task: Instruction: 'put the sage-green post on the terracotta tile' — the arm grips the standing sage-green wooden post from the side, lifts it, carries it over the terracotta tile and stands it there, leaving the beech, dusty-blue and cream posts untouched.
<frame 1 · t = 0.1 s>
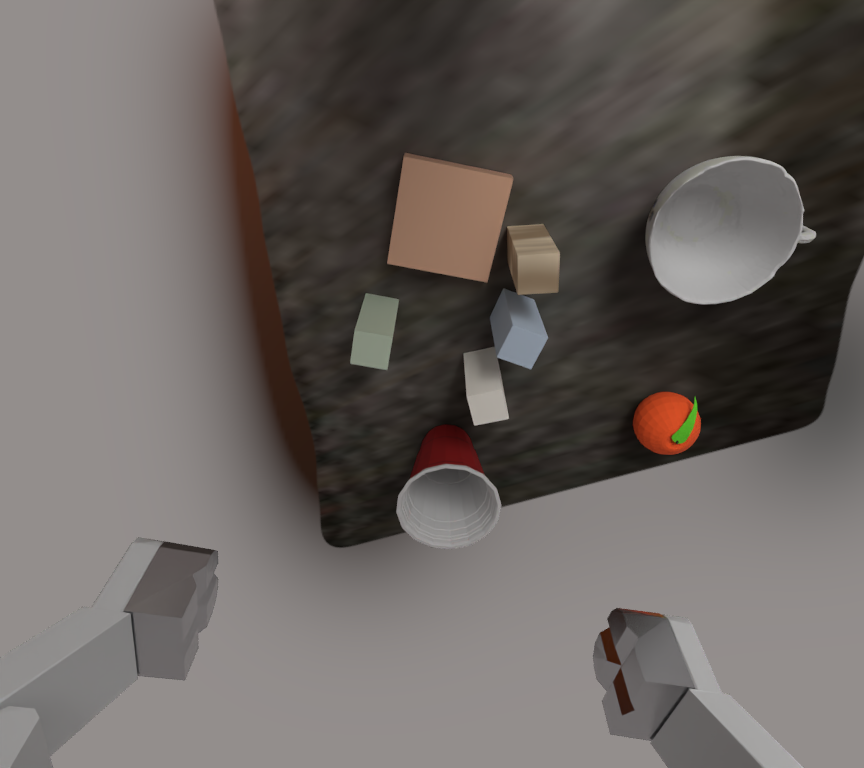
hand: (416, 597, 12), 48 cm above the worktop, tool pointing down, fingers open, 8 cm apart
plastic cup: (447, 441, 69), on the worktop
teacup: (702, 213, 55), on the worktop
sage green post: (380, 311, 60), on the worktop
dusty blue post: (511, 308, 60), on the worktop
beech post: (525, 242, 57), on the worktop
cream post: (482, 363, 63), on the worktop
terracotta tile: (447, 217, 55), on the worktop
clementine: (658, 401, 66), on the worktop
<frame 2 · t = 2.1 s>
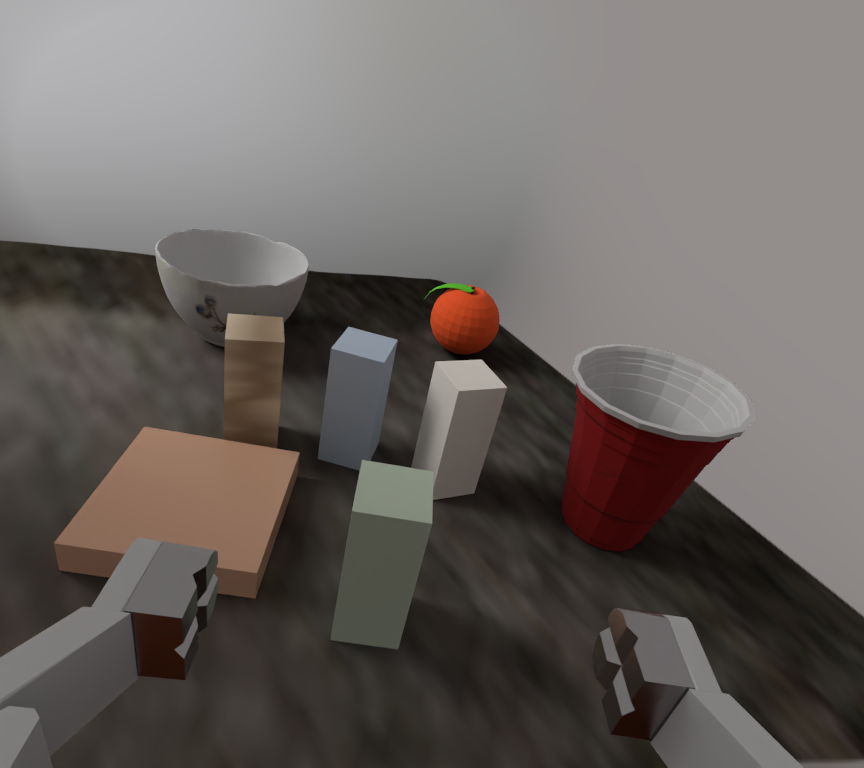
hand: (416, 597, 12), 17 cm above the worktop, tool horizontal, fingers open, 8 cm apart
plastic cup: (595, 522, 41), on the worktop
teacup: (236, 330, 54), on the worktop
sage green post: (368, 615, 31), on the worktop
dusty blue post: (348, 451, 42), on the worktop
beech post: (250, 439, 41), on the worktop
cream post: (442, 480, 41), on the worktop
terracotta tile: (194, 516, 34), on the worktop
clementine: (452, 350, 60), on the worktop
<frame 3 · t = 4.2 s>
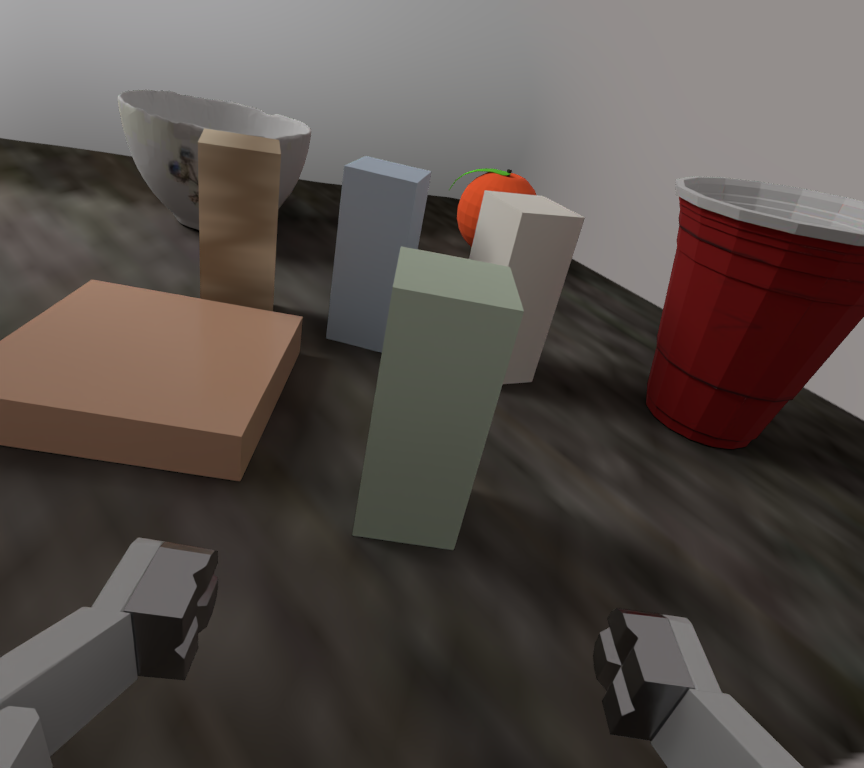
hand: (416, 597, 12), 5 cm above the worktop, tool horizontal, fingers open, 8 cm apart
plastic cup: (691, 419, 31), on the worktop
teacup: (222, 221, 45), on the worktop
sage green post: (406, 507, 21), on the worktop
dusty blue post: (366, 333, 32), on the worktop
beech post: (238, 315, 31), on the worktop
cream post: (488, 367, 32), on the worktop
terracotta tile: (156, 386, 24), on the worktop
clementine: (482, 254, 50), on the worktop
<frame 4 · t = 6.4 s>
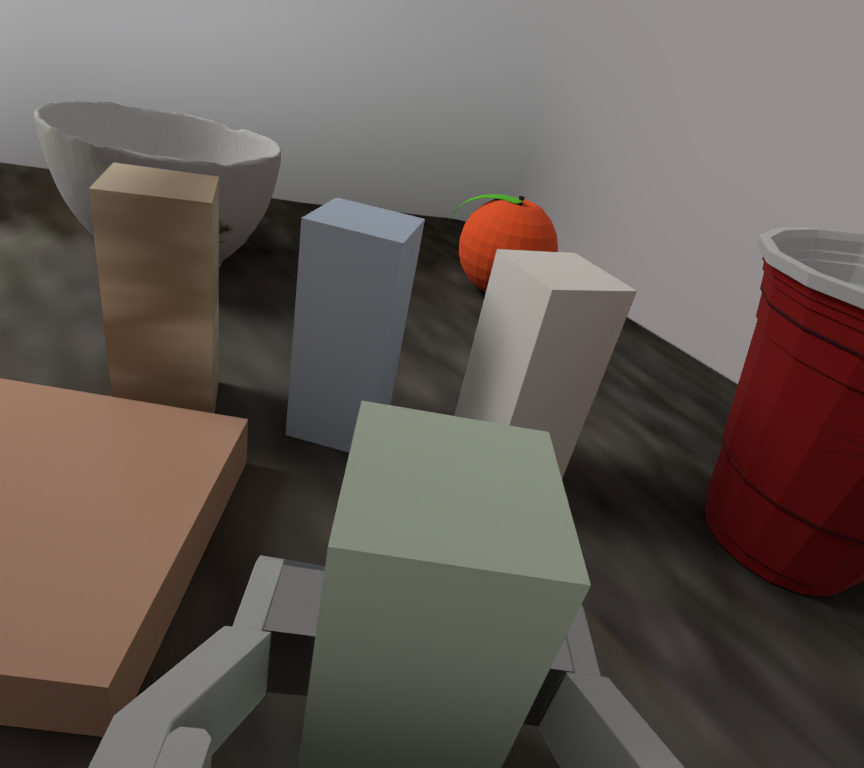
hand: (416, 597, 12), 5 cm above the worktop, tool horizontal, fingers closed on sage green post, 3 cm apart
plastic cup: (765, 542, 24), on the worktop
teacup: (177, 257, 37), on the worktop
dusty blue post: (340, 423, 25), on the worktop
beech post: (171, 402, 24), on the worktop
cream post: (499, 471, 24), on the worktop
terracotta tile: (25, 541, 17), on the worktop
clementine: (488, 294, 42), on the worktop
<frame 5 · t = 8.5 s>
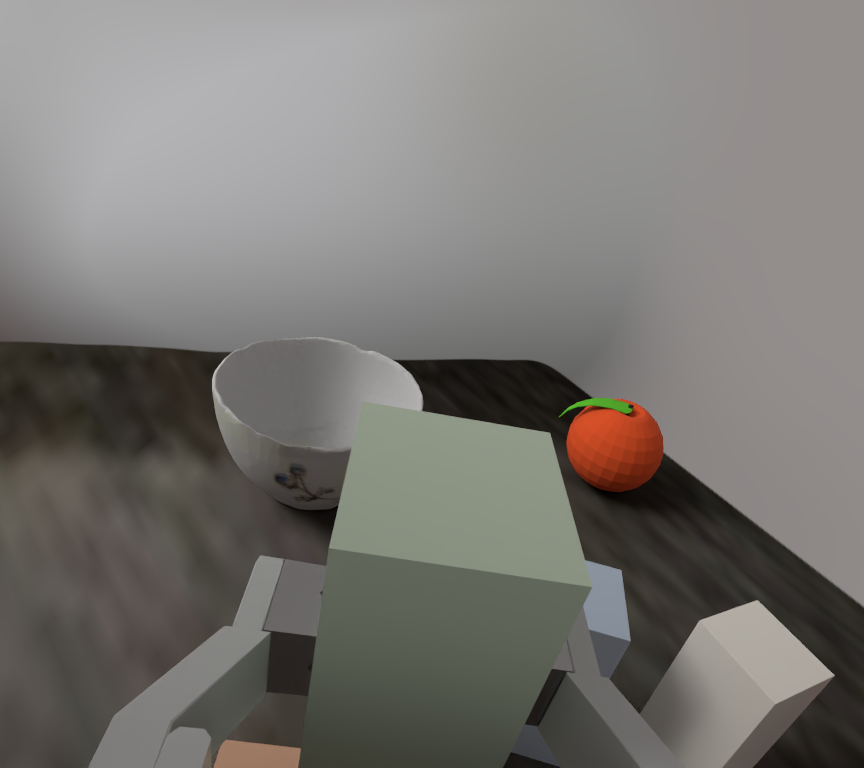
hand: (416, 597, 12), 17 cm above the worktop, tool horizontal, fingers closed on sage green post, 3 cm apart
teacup: (313, 472, 40), on the worktop
dusty blue post: (523, 717, 27), on the worktop
clementine: (591, 480, 45), on the worktop
when the fingers open (9 cm above the worktop, at t = 10.5 s): sage green post drops 1 cm, resting on terracotta tile.
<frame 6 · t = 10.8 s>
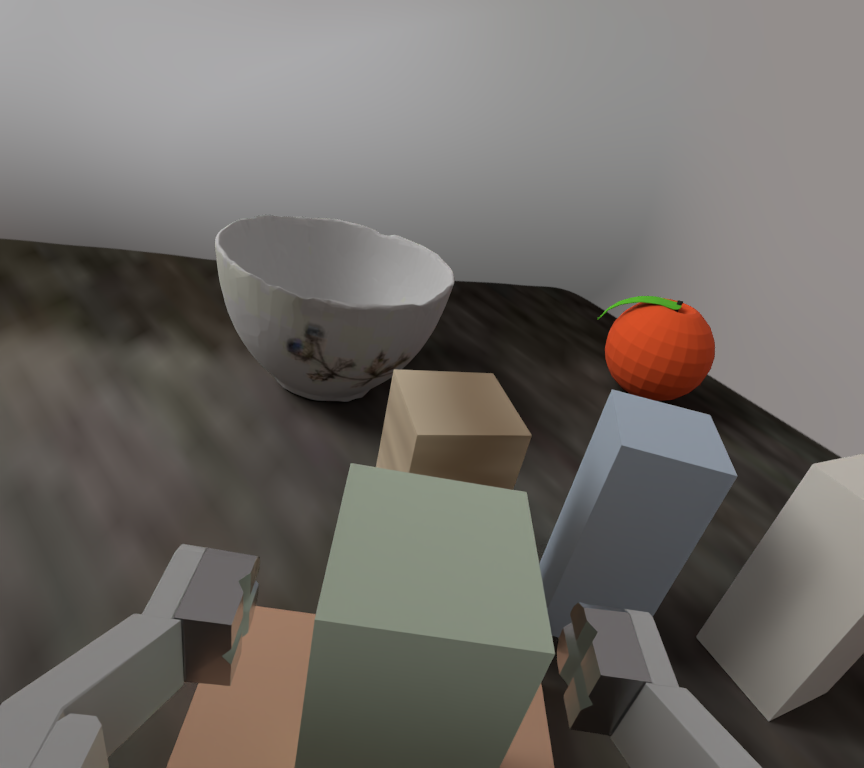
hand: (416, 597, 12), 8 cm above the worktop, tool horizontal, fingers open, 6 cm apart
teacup: (326, 369, 36), on the worktop
dusty blue post: (580, 607, 23), on the worktop
beech post: (410, 593, 22), on the worktop
cream post: (759, 664, 23), on the worktop
clementine: (630, 393, 41), on the worktop
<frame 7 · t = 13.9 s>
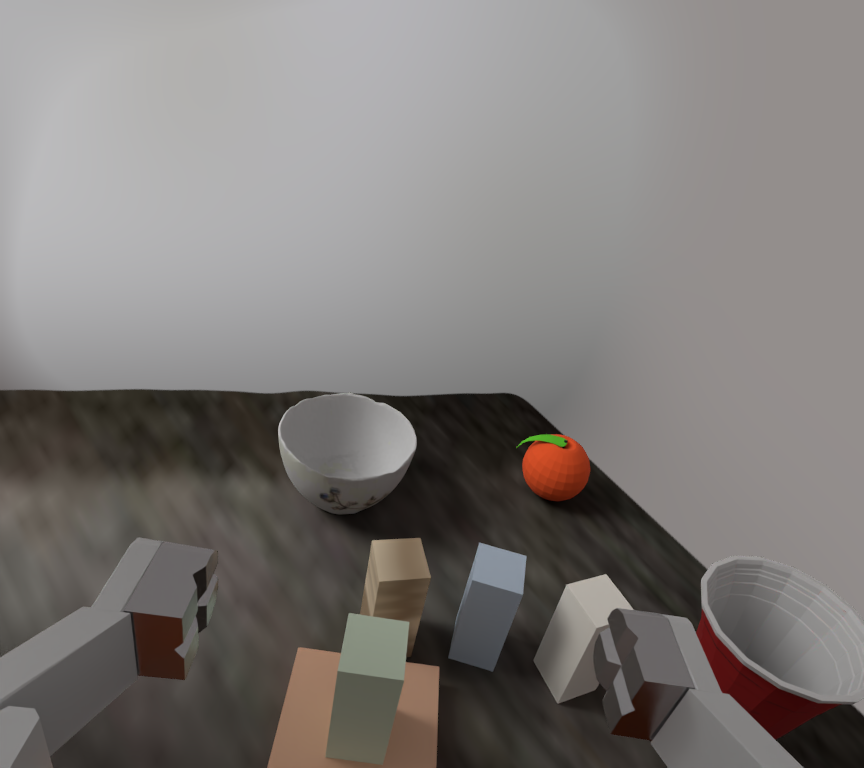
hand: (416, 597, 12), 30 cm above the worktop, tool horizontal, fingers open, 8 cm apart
plastic cup: (711, 716, 43), on the worktop
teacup: (342, 487, 57), on the worktop
sage green post: (358, 730, 36), point 2 cm above the worktop, touching terracotta tile
dusty blue post: (473, 644, 45), on the worktop
beech post: (384, 638, 44), on the worktop
cream post: (563, 675, 44), on the worktop
terracotta tile: (355, 746, 37), on the worktop
clementine: (541, 491, 62), on the worktop
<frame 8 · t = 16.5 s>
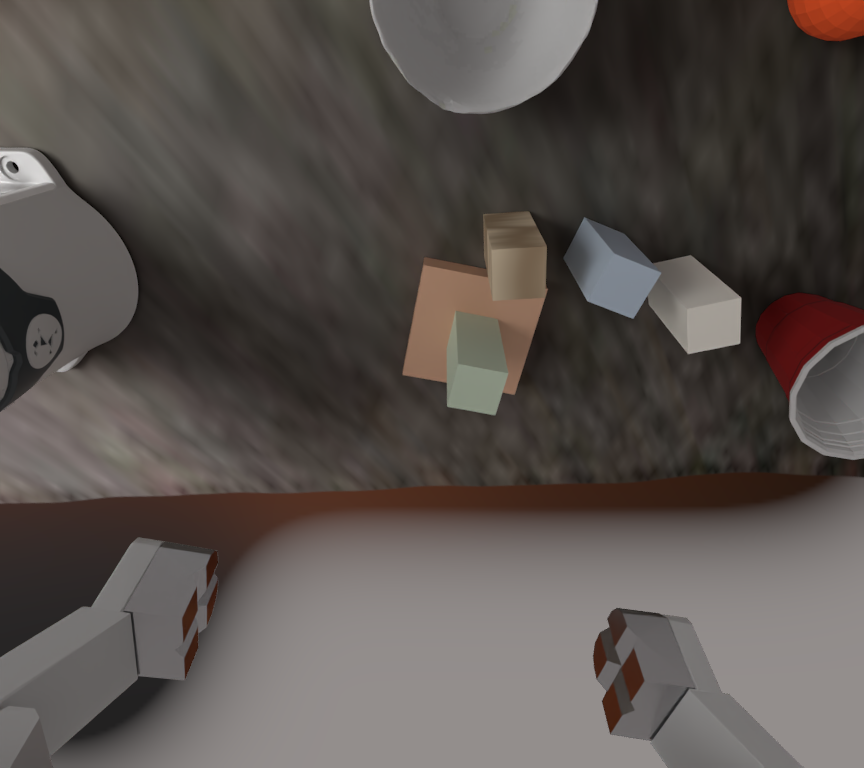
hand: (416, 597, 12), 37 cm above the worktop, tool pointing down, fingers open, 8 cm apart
plastic cup: (786, 321, 49), on the worktop
sage green post: (471, 333, 47), point 2 cm above the worktop, touching terracotta tile
dusty blue post: (593, 246, 46), on the worktop
beech post: (506, 235, 45), on the worktop
cream post: (669, 280, 47), on the worktop
terracotta tile: (470, 323, 49), on the worktop
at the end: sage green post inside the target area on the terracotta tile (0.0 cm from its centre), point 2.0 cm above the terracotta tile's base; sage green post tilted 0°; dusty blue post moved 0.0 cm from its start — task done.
